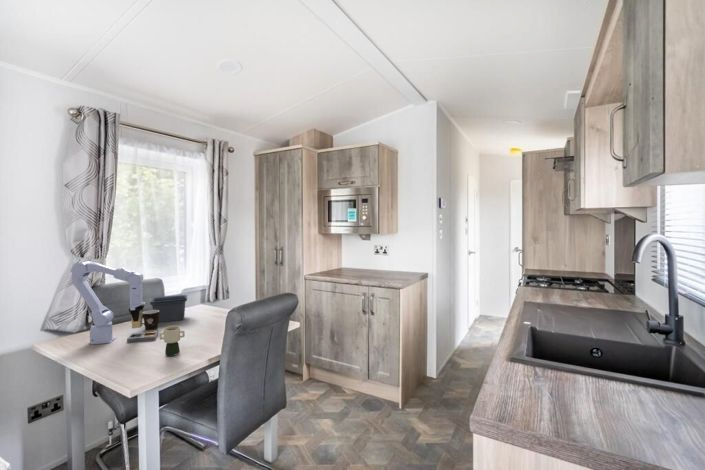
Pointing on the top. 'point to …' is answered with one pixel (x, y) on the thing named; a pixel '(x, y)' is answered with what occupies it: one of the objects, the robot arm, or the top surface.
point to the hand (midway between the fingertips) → (137, 320)
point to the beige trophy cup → (171, 339)
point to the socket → (142, 336)
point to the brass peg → (138, 323)
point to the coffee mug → (151, 319)
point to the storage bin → (169, 307)
